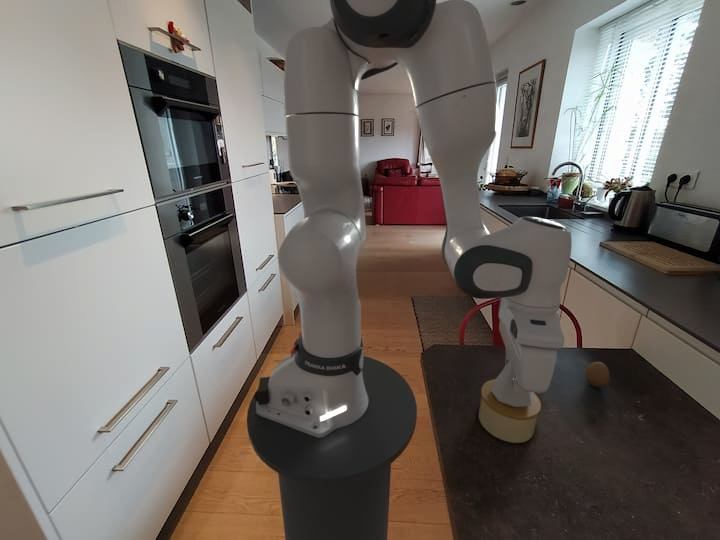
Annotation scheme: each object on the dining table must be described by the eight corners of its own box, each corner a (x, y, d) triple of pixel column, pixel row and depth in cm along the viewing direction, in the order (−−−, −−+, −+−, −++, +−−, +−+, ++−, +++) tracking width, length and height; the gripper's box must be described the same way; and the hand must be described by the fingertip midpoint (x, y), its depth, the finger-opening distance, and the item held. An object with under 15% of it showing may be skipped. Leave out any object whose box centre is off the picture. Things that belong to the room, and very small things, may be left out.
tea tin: (480, 438, 60) (485, 412, 58) (474, 399, 70) (478, 375, 68) (542, 448, 58) (548, 422, 56) (526, 407, 67) (532, 382, 65)
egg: (610, 392, 72) (618, 369, 70) (590, 391, 72) (597, 369, 70) (597, 378, 76) (604, 357, 74) (578, 378, 76) (584, 356, 74)
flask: (487, 379, 66) (495, 336, 62) (526, 384, 64) (535, 340, 61) (494, 405, 59) (502, 358, 56) (537, 411, 58) (548, 363, 54)
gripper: (497, 287, 66) (487, 346, 71) (521, 340, 47) (506, 416, 52) (530, 290, 65) (519, 349, 69) (569, 346, 46) (550, 422, 50)
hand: (513, 378), depth 60 cm, fingers closed on flask, 5 cm apart
